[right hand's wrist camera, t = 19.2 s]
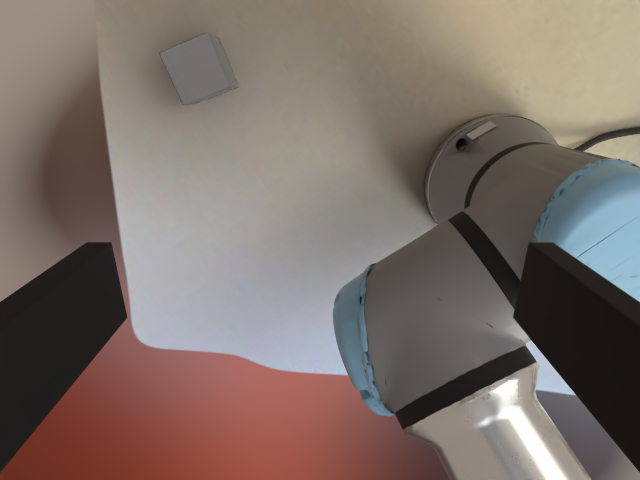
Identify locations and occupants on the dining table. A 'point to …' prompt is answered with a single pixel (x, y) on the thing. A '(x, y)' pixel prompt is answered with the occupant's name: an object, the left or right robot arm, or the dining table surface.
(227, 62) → the grey block
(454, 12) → the dining table surface
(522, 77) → the dining table surface
